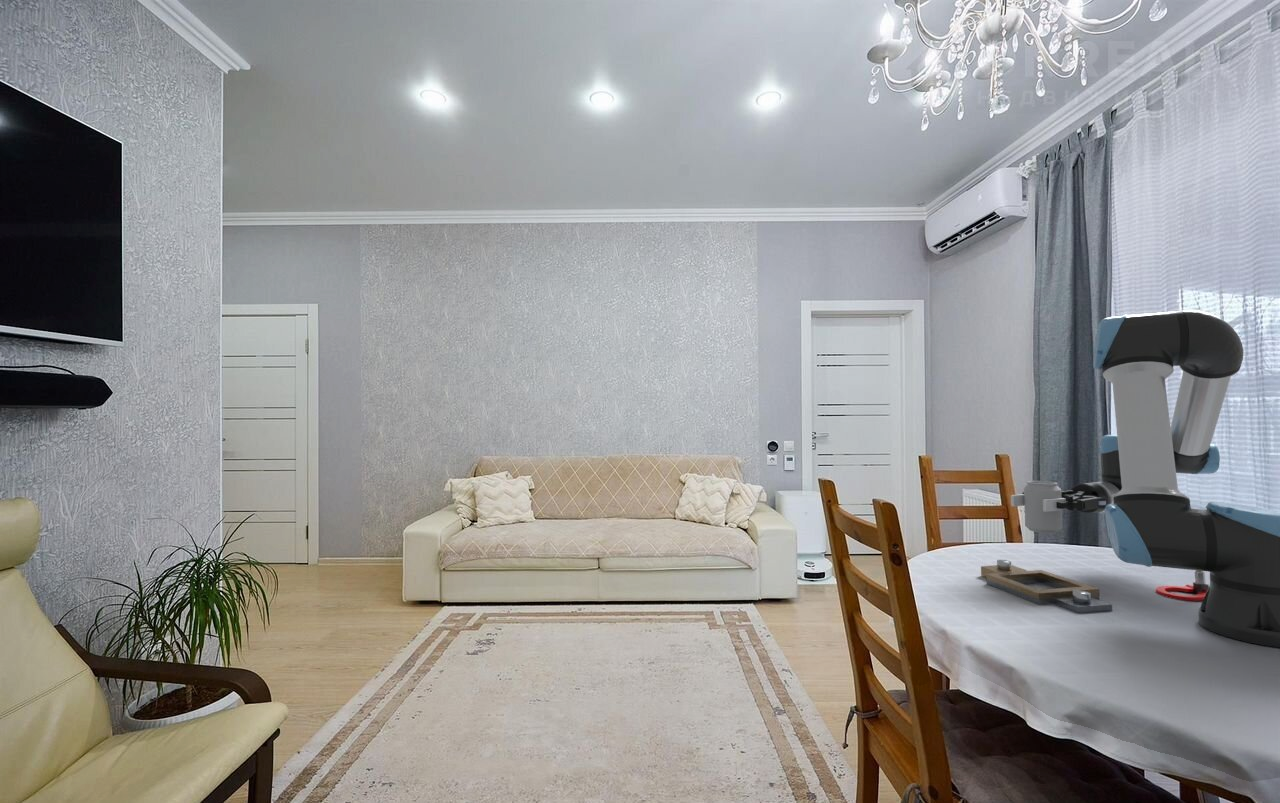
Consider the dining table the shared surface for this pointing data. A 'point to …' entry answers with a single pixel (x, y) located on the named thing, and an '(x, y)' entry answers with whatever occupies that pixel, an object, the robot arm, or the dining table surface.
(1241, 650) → the dining table surface
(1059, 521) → the can
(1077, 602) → the chain end lower
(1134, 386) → the robot arm
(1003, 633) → the dining table surface
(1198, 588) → the tow hook
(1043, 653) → the dining table surface
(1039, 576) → the chain end upper
